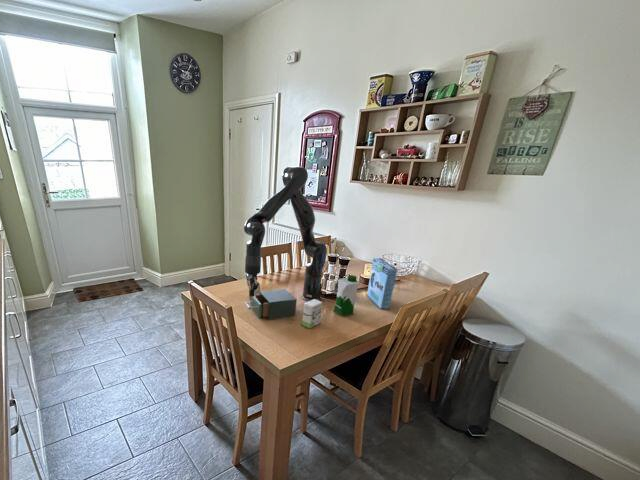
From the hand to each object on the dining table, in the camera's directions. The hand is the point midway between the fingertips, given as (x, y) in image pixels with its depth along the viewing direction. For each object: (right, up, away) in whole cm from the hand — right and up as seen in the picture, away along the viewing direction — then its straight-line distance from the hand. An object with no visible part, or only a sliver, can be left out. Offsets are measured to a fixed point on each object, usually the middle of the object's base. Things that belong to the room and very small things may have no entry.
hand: (251, 295), depth 164 cm
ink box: (+29, -14, -3) cm, 32 cm away
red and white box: (+2, -2, +22) cm, 23 cm away
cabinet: (+13, -8, +9) cm, 18 cm away
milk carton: (+49, -9, +9) cm, 51 cm away
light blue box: (+73, -3, +23) cm, 76 cm away
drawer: (+6, -8, +6) cm, 12 cm away
